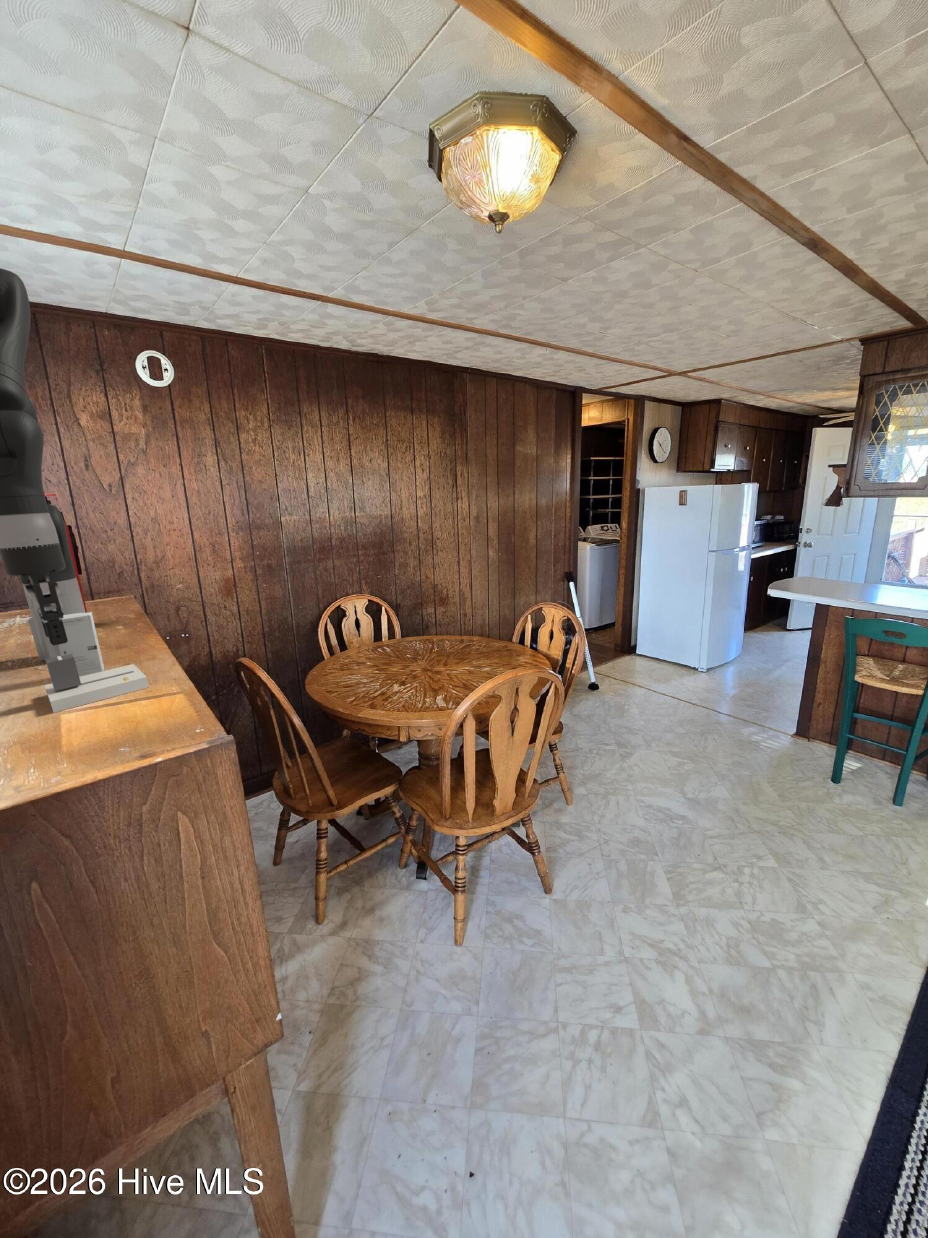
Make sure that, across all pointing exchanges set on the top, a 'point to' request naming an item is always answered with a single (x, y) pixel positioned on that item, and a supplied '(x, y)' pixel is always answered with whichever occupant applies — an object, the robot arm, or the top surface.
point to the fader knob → (63, 672)
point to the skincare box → (82, 643)
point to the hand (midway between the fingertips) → (56, 639)
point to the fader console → (97, 687)
